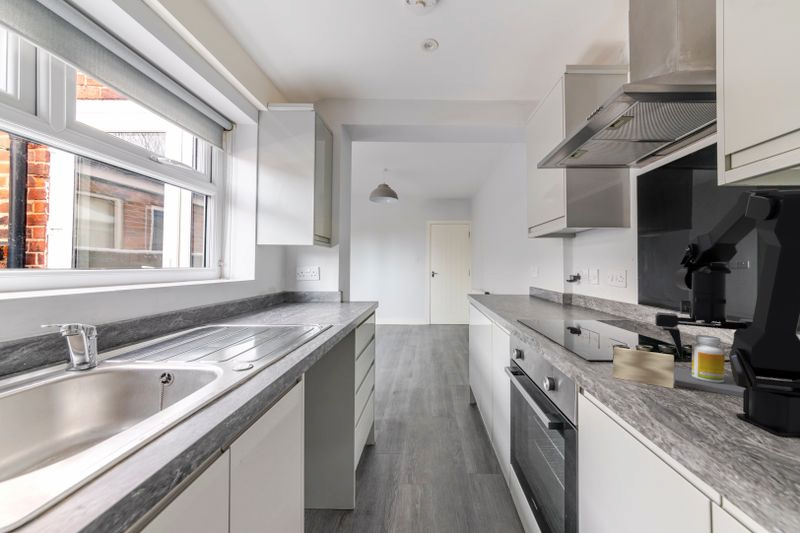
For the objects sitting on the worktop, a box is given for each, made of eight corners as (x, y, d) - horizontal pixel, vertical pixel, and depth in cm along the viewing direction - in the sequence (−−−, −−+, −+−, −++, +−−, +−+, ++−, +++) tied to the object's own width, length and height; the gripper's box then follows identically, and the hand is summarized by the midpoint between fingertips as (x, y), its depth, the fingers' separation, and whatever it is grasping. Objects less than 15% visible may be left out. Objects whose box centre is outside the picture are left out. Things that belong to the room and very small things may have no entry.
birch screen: (672, 386, 70) (673, 355, 70) (673, 388, 69) (673, 356, 69) (613, 375, 77) (613, 347, 77) (613, 377, 76) (613, 348, 76)
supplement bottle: (731, 383, 70) (732, 339, 69) (706, 383, 70) (707, 339, 70) (708, 375, 75) (708, 334, 75) (685, 374, 75) (685, 334, 75)
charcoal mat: (737, 381, 74) (738, 377, 74) (753, 399, 64) (753, 394, 64) (670, 370, 81) (670, 366, 81) (675, 385, 71) (675, 380, 71)
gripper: (758, 293, 73) (756, 360, 73) (654, 288, 84) (653, 346, 84) (774, 297, 64) (773, 373, 64) (656, 291, 75) (655, 356, 75)
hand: (707, 360), depth 72 cm, fingers open, 9 cm apart
